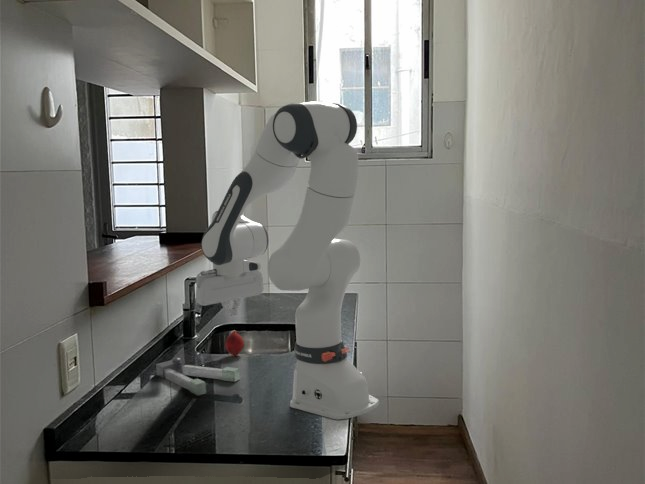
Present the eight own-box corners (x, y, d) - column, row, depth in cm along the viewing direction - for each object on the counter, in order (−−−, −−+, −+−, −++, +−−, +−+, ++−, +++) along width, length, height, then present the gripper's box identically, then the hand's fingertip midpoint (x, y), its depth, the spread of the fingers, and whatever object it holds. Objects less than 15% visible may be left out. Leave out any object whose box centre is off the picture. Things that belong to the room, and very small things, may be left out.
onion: (241, 358, 195) (239, 333, 194) (223, 358, 196) (221, 332, 195) (247, 353, 200) (245, 328, 199) (229, 352, 202) (228, 327, 201)
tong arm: (171, 373, 183) (170, 359, 183) (176, 371, 185) (175, 357, 185) (235, 381, 174) (234, 366, 174) (239, 378, 176) (238, 364, 176)
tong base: (218, 389, 169) (218, 377, 169) (197, 395, 165) (196, 383, 165) (176, 369, 187) (175, 359, 187) (156, 374, 183) (156, 364, 183)
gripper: (201, 273, 170) (204, 324, 172) (265, 263, 183) (267, 310, 185) (190, 270, 175) (193, 320, 177) (252, 260, 188) (255, 307, 190)
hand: (231, 315), depth 181 cm, fingers closed
